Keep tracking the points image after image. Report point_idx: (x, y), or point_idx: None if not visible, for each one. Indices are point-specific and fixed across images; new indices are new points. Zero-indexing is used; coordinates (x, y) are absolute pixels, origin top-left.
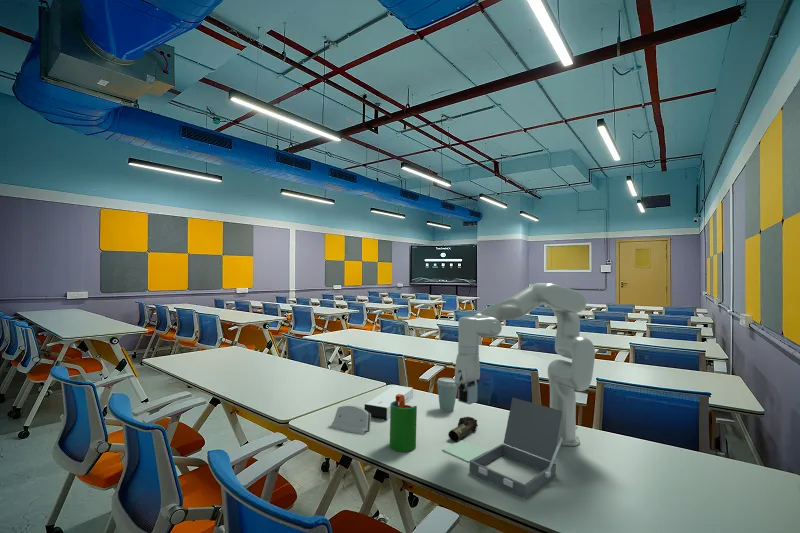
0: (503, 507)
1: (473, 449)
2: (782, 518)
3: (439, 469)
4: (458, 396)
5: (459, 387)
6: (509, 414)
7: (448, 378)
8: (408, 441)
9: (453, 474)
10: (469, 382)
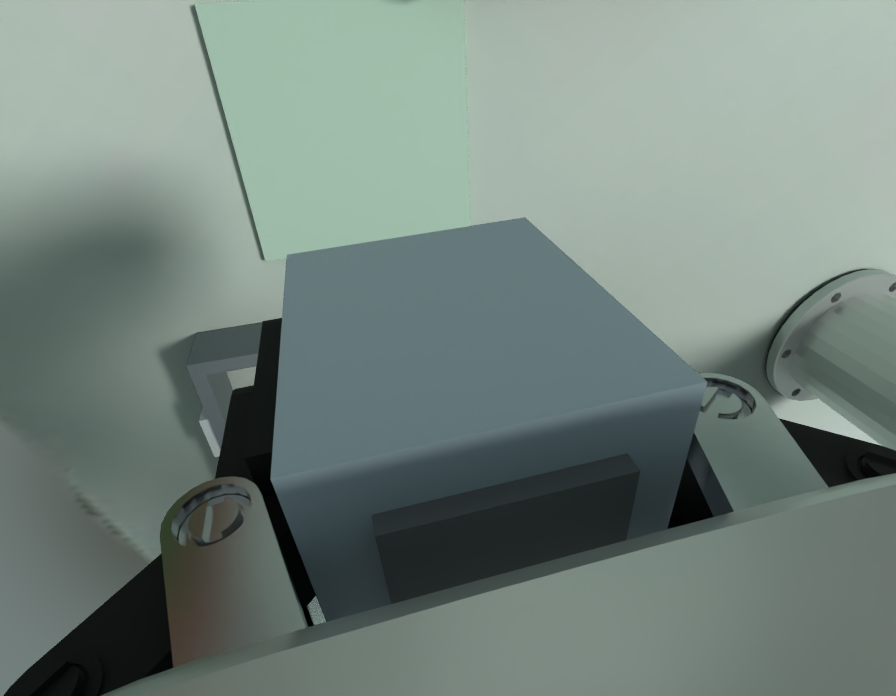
0: (156, 548)
1: (412, 166)
2: None
3: (12, 221)
4: (286, 295)
5: (122, 640)
6: None
7: None
8: None
9: (82, 308)
10: (704, 469)
